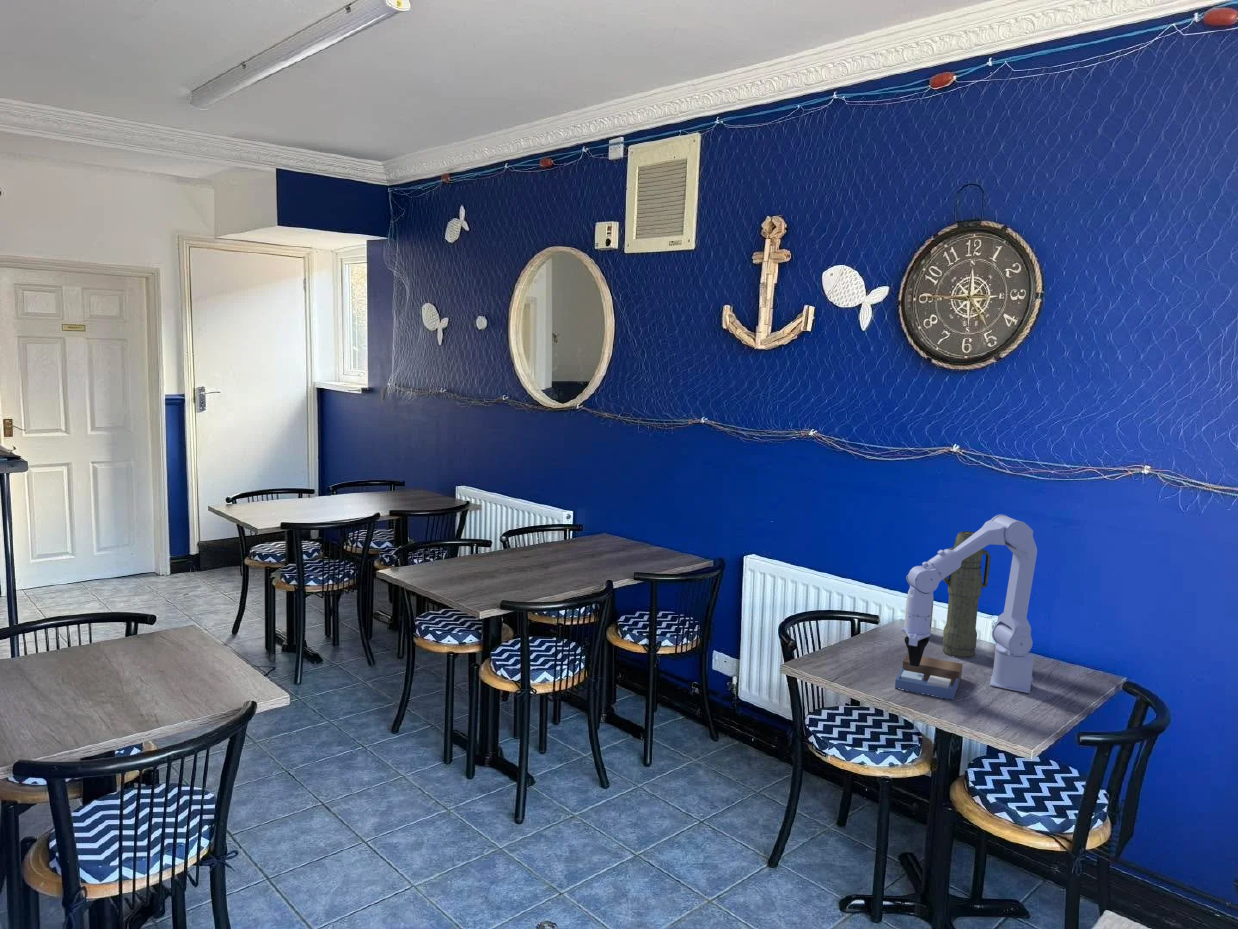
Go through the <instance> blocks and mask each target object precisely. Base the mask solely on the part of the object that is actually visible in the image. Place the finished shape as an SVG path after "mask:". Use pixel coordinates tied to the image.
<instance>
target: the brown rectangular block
mask: <svg viewBox="0 0 1238 929" xmlns="http://www.w3.org/2000/svg"><path fill="white" fill-rule="evenodd" d="M902 668H904V670H906V671H911V672H916V673H922V674H924V679H925V680H928V679H929V677H930V675H932V676H937V677H942V678H947V679H951V685H954V683H955V680H956V678H957V679H959V681H958V687H959V685H960V683H961V680H962V672H963V663H959V662H956V661H955V662H954V661H950V660H944V659H938V658H932V657H927V656H923V655H922V659H921V662H920V665H919V667H917V666H912V665H910V661H909V653H906V655H905V656H904V658H903V661H902V667H901V669H902Z"/></svg>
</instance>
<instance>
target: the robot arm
mask: <svg viewBox="0 0 1238 929" xmlns="http://www.w3.org/2000/svg"><path fill="white" fill-rule="evenodd" d="M974 532H975V533H974V534H973V535H972V536H970V537H969V538H968V539H966V540H965V541H964V542H962V543H961V544H960V545H959V546H957V547H956V548H955V549H953V550H950V549H949V548H945V549H943V550H942V549H939V550H938V551H937V554H936V555H935V556H933V557H931V558H930V559H928V560H927V561H923V562H921V564H922V565H916V566H913V567H912V568H911V569H910V570H909V572H908V574H907V575H906V577H905V579H906V582H907V583H908V585H909V589H910V591H909V590H908V591H909V601H908V613H907V624H906V627H904V626H902V627H901V628H900V631H901V632H903V633H905V634H906V636H905V637H904V643H905V645H906V648H907V652H908V653H907V654H909V661H910V665H912V666H917V667H919V665H920V662H921V659H922V656H923V654H924V652H925V649H926V647H927V645H928V643H929V642H930V637H931V634H930V622H931V611H932V600H933V601H934V592H935V591H936V590H937V589H938V587H939V585H940V582H942V581H944V580H943V579H944V578H946V577H947V576H948V577H949V575H950V574H951V573H953V572H954V571H956V570H957V569H959V568H960V567H961V562H962V560H964V559H965V558H967V557H969V556H970V555H972V554H974V553H976V552H977V551H979V550H981V549H982V548H983V549H984V548H986V547H987V546H989V545H996V546H1006V547H1007V548H1008V550H1010V552H1011V553H1012V557H1011V558H1012V559H1011V564H1010V572H1009V577H1008V578H1009V579H1008V584H1007V589H1006V590H1007V591H1006V595H1005V603H1004V609H1003V612H1002V613H1001V614H999V615H998V617H997V620H996V623H995V625H994V626H993V628H992V630H991V637H992V639H993V641H994V642H995V645H994V646H995V649H994V660H993V669H992V675H990V676H991V677H990V681H989V686H990V687H994V688H999V689H1000V688H1001V689H1005V690H1009V691H1010V690H1011V691H1015V692H1020V693H1021V692H1022V693H1027V694H1030V692H1031V686H1032V685H1033V683H1034V682H1033V681H1034V676H1033V669H1034V658H1035V657H1034V656H1035V655H1033V654H1029V652H1031V649H1032V647H1033V642H1034V641H1033V639H1032V635H1031V634H1032V627H1031V624H1030V622H1029V620H1028V618H1027V617H1028V612H1029V604H1030V598H1031V591H1032V587H1033V580H1034V574H1035V568H1036V561H1037V556H1038V548H1037V544H1036V541H1035V539H1034V536H1033V535H1034V530H1033V529H1032V528H1031V527H1030V526H1029V525H1028V524H1027V523H1025V521H1022V520H1021V521H1020V520H1017V519H1014V518H1012V517H1009V516H1007V515H1006V514H996V515H995V516H993V517H992V518H991V519H989V520H987V521H985V523H983V525H982V527H981V528H979V529H978V530H977V531H974Z"/></svg>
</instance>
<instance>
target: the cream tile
mask: <svg viewBox="0 0 1238 929" xmlns="http://www.w3.org/2000/svg"><path fill="white" fill-rule="evenodd" d="M927 685H932V686H937V687H942V688H947V689H950V687H951V679H947V678H942V677H937V676H932V675H930V677H929V679H928V681H927Z"/></svg>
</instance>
